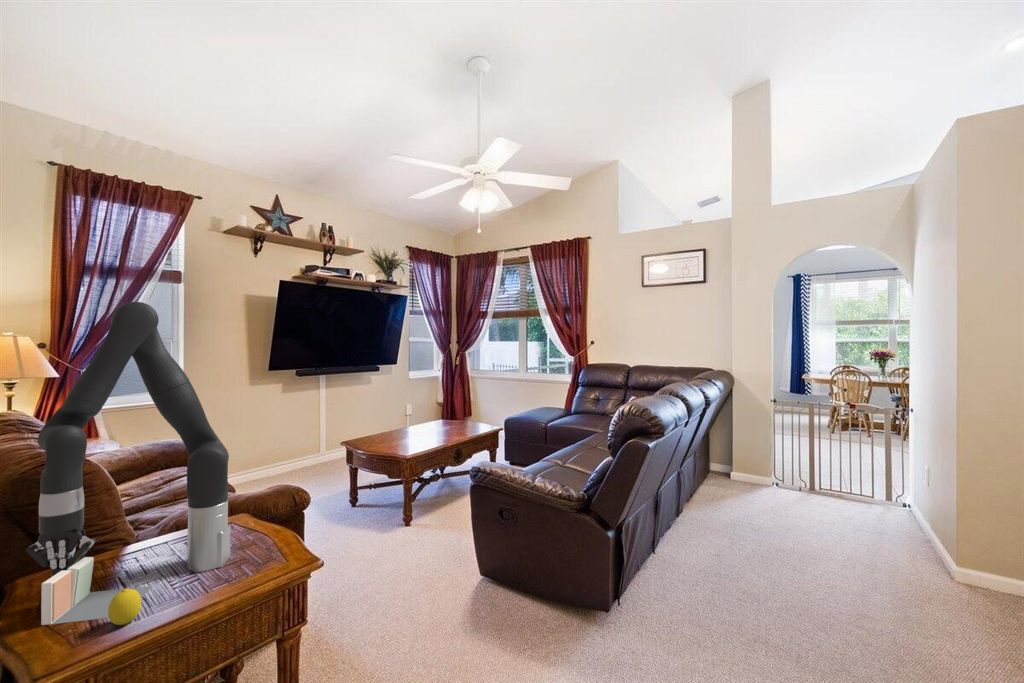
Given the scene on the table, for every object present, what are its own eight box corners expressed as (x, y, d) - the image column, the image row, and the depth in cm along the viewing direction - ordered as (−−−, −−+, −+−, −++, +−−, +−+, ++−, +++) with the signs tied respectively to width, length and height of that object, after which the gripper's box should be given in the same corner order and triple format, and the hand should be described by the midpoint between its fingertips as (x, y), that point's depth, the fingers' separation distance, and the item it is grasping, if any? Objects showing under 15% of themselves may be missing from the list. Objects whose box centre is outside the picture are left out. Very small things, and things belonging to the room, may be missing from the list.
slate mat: (153, 588, 112) (153, 585, 112) (121, 618, 100) (121, 616, 100) (82, 595, 108) (82, 592, 108) (40, 628, 96) (40, 625, 96)
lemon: (121, 618, 100) (121, 582, 100) (147, 617, 100) (147, 581, 100) (100, 634, 94) (101, 596, 94) (128, 633, 95) (128, 595, 95)
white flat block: (90, 594, 108) (95, 557, 108) (73, 607, 103) (78, 568, 103) (79, 594, 108) (84, 557, 108) (62, 608, 102) (67, 568, 102)
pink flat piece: (71, 608, 102) (72, 569, 102) (52, 623, 97) (53, 582, 97) (60, 609, 102) (61, 570, 102) (41, 625, 96) (41, 583, 96)
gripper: (105, 501, 110) (105, 571, 110) (41, 505, 107) (40, 577, 107) (84, 512, 102) (83, 587, 102) (13, 517, 99) (13, 594, 99)
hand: (61, 582), depth 104 cm, fingers closed
